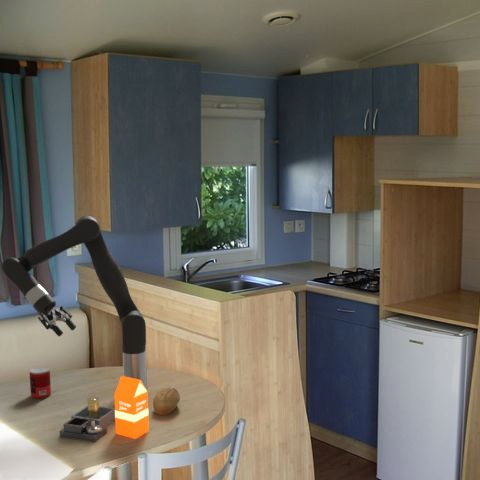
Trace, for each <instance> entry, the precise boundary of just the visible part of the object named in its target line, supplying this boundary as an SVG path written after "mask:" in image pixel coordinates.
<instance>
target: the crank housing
mask: <svg viewBox="0 0 480 480" xmlns="http://www.w3.org/2000/svg"><path fill="white" fill-rule="evenodd" d="M58 433H59V437H61V438H67V439H72V440H73V439H74V440H78V441H85V442H92V443H95V442H97V441H98V440H100V438H102V437H103V436H105V435H106V434H108V429H107V426H106V427H101V426H100V425H95V421H92V419H87V418H81V417H74V418H72V419H69V420H68V421H66V422H64V424H63V428H62V429H60V430H59V431H58Z"/></svg>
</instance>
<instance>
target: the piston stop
mask: <svg viewBox="0 0 480 480" xmlns="http://www.w3.org/2000/svg"><path fill="white" fill-rule="evenodd" d="M86 401H87V406H88V418H93V419H99V406H100V401H99V397H97V396H90V397H88V398H87V400H86Z"/></svg>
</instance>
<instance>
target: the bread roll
mask: <svg viewBox="0 0 480 480" xmlns="http://www.w3.org/2000/svg"><path fill="white" fill-rule="evenodd" d="M180 400H181V397H180V393H179V391H178V390H177V389H176V388H173V387H172V388H171V387H166V388H165V387H164V388H162V389H161V388H160V389H159V390H158V391H157V392H156V393H155V396H154V398H153V402H152V405H153V410H154V412H155V413H156V414H157V415H159V416H166V415H168V414H169V415H170V414H171V413H172V412H173V411H174V410H175V409H176V408H177V406H178V404H179V402H180Z"/></svg>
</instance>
